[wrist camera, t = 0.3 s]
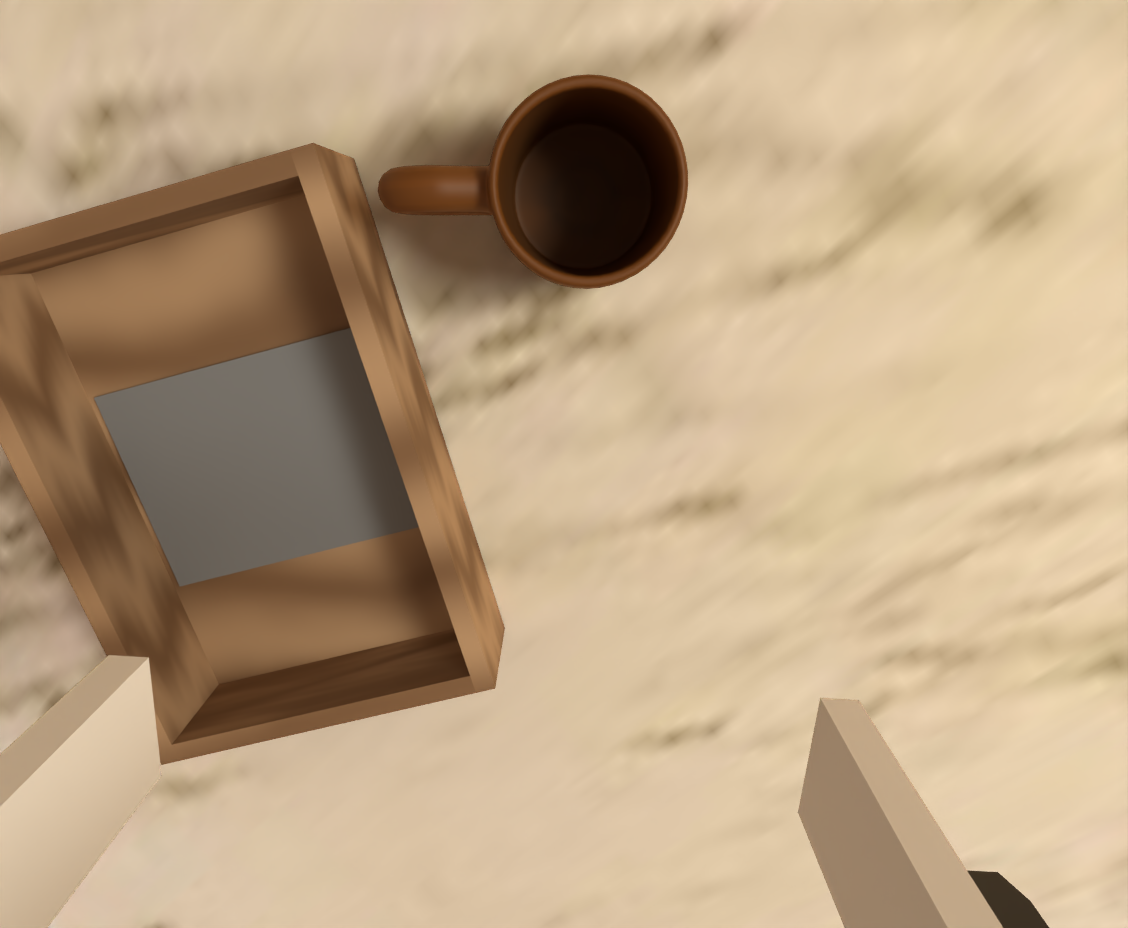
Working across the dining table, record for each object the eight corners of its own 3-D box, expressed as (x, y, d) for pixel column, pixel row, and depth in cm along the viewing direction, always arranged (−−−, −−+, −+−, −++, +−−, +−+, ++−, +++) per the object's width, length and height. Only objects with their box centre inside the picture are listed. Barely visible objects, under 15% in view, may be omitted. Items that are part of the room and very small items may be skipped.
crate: (11, 258, 37) (-91, 261, 31) (353, 158, 35) (313, 143, 30) (214, 696, 44) (161, 764, 38) (504, 628, 43) (495, 688, 37)
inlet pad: (97, 396, 38) (93, 397, 38) (372, 321, 37) (371, 322, 37) (182, 584, 41) (179, 586, 41) (438, 520, 40) (437, 522, 40)
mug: (419, 281, 37) (372, 294, 28) (408, 115, 35) (353, 72, 26) (658, 278, 37) (688, 290, 28) (663, 112, 35) (697, 67, 26)
